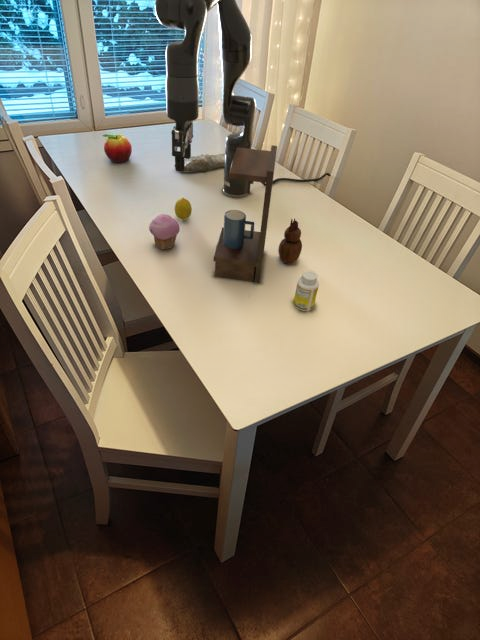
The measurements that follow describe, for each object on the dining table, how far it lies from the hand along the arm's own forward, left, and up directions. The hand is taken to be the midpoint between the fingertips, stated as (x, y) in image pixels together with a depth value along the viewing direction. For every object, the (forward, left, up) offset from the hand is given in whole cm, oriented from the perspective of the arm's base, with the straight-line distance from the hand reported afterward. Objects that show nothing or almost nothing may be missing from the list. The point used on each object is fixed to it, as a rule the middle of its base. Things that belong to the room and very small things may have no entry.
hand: (183, 164), depth 113 cm
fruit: (+4, -73, -29) cm, 79 cm away
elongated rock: (-32, -58, -29) cm, 73 cm away
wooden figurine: (-29, +12, -29) cm, 42 cm away
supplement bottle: (-23, +32, -29) cm, 49 cm away
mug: (-13, +8, -21) cm, 27 cm away
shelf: (-13, +8, -29) cm, 33 cm away
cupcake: (+4, -7, -29) cm, 30 cm away
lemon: (-6, -20, -29) cm, 36 cm away
